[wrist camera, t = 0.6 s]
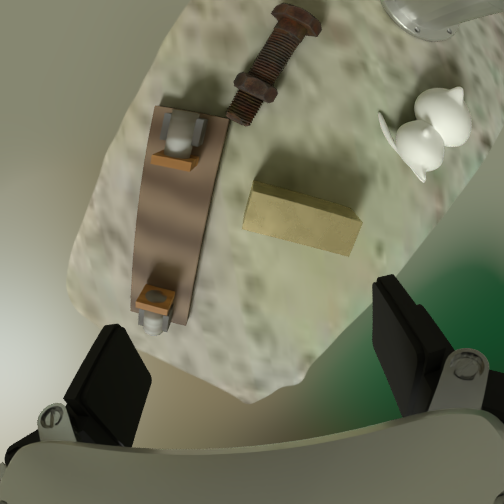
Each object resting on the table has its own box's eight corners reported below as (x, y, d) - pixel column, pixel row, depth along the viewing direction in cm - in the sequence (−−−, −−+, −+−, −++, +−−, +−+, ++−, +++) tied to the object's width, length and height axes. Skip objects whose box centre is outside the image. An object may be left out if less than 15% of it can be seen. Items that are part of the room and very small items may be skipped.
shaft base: (158, 105, 33) (140, 105, 28) (230, 119, 34) (224, 120, 29) (133, 305, 46) (120, 329, 40) (187, 319, 47) (179, 346, 41)
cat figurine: (433, 183, 27) (490, 106, 23) (358, 119, 30) (415, 49, 26) (427, 191, 35) (476, 128, 30) (368, 138, 38) (416, 79, 33)
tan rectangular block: (253, 180, 38) (252, 191, 33) (350, 207, 39) (362, 222, 34) (244, 213, 39) (242, 229, 35) (338, 238, 41) (348, 256, 36)
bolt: (233, 117, 36) (291, 20, 29) (265, 135, 34) (326, 32, 28) (205, 107, 31) (271, -3, 24) (239, 126, 29) (311, 8, 23)
